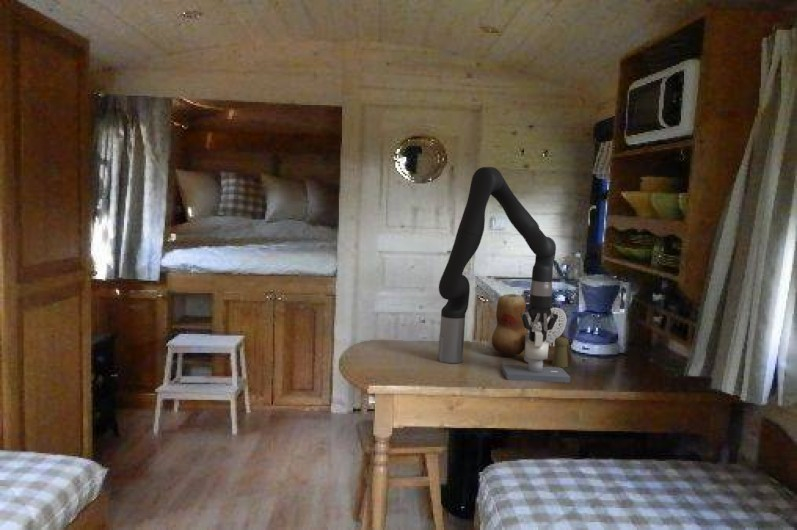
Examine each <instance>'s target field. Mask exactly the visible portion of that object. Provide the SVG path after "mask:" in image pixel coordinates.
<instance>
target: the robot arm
mask: <svg viewBox="0 0 797 530" xmlns="http://www.w3.org/2000/svg"><path fill="white" fill-rule="evenodd" d="M491 196H492V198H494V199H495V200H496V201H497V202H498V203H499V205H500V206H501V208H502V210H503V211H504V213H505V215H506V218H507V219H508V220H509V222H510V223H511V225H512V226H513V227H514V228H515V230H516V231H517V233H519V234H520V236H521V237H522V238H523V239H524V241H525V242H526V244H527V245H528V246H527V247H529V249H530V251H531V252H532V253H533V254H534V255H535V259H534V261H535V262H534V265H533V267H532V271H531V272H532V273H531V283H530V288H529V289H530V290H529V302H528V303H529V304H528V305H529V306H528V307H529V308H528V309H527V311H525V313H521V318H522V321H523V324H524V327H525V330H527V331H528V330H529V339H530V341H532V342H534V340H535V328H536V326H537V325H538V324H537V323H538V322H540V324H541V328H542V330H541V332H542V334H543V342H545V340H546V337H547V336H546V335H547V333H548V332H547V331H548V330H552V328H553V326H554V324H555V322H557V319H558V315H557V314H558V313H556V314H555V313H552V312H551V307H552V297H553V296H552V294H553V272H554V271H553V270H554V263H555V258H556V251H557V245H556V242H555V240H554V239H553V238H551V237H549V236H546V234H545V233H544V232H543V231H542V230H541V229H540V226H539V224H538V222H537V221H536V220H535V219H534V217H533V216H532V214H530V212H529V211H528V210H527V209H526V208H525V207H524V205H523V204H522V203H521V202H520V201H519V199H518V198H517V197H516V195H515V194H514V192H513V191H512V189H511V188H510V187H509V185H508V183H507V182H506V179H505V178H504V177H503V174H502V173H501V172H500V170H499V169H498V168H496V167H493V166H482V167H479V168H478V169H476V171H474V173H473V175H472V177H471V182H470V187H469V192H468V197H467V201H466V204H465V207H464V210H463V213H462V217H461V220H460V222H459V225H458V228H457V232H456V235H455V238H454V242H453V246H452V248H451V251H450V255H449V258H448V260H447V263H446V266H445V268H444V270H443V273H442V276H441V277H440V280H439V282H438V292H439V295H440V296H441V298H442V299H444V300H446V301H447V302H446V303H445V305H444V306H443V307H442V309H441V310H440V311H441V314H440V328H439V340H438V352H437V353H438V354H437V355H438V356H437V358H438V362H440V363H446V364H458V363H460V364H461V363H462V362H463V360H464V345H465V342H464V341H465V331H466V330H465V328H466V327H465V326H466V314H467V311H468V308H469V303H470V301H469V300H470V292H471V291H470V290H471V287H470V285H471V284H470V281H469V279H468V278H467V276H466V275H464V274H463V273H464V271H465V267H467V264H469V263H468V262H469V261H470V260H471V259H472V258H473V256H474V255H475V254H476V252H477V250H478V249H479V247H480V244H481V241H482V239H483V234H484V231H485V226H486V225H485V222H486V221H485V219H486V216H485V215H486V209H487V208H486V207H487V205H488V202H489V199H490V198H491ZM528 315H529V316H530V317H531V320H530V323H529V322H528ZM549 316H550V320H548V321H549V322H548V323H547V319H548V317H549ZM529 324H530V325H529Z"/></svg>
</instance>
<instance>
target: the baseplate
mask: <svg viewBox="0 0 797 530" xmlns="http://www.w3.org/2000/svg"><path fill="white" fill-rule="evenodd" d="M527 364H528V365H519V364H518V365H516V364H501V372H502V371H503V372H502V374H503V373H504V374H503V375H504V377H505V379H506V378H507V379H509V380H508V381H523V380H535V381H534V382H544V381H548V383H564V382H565V384H567V383H569V384H570V383H571V376H570V375H569V374H568V373H567V372H566V371H565V370H564V368H560V367H554V366H544V360H537V359H531V358H529V363H527ZM507 379H506V380H507Z"/></svg>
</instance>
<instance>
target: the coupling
mask: <svg viewBox="0 0 797 530" xmlns="http://www.w3.org/2000/svg"><path fill="white" fill-rule="evenodd" d="M549 347H550V344H548V343H547V342H543V334H542V332H541V330H540V329H535V340H534V342H532V341H530V340H529V341H526V346H525V350H524V352H525V357H527V358H531V359H537V360H543V361H545V360H548V356H549Z"/></svg>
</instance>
